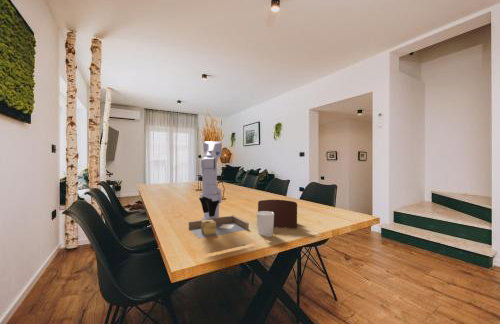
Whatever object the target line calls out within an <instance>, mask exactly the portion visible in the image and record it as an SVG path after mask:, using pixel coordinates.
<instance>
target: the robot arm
mask: <svg viewBox="0 0 500 324" xmlns="http://www.w3.org/2000/svg"><path fill="white" fill-rule="evenodd" d="M222 143H223V142H222V141H221V140H220V141H213V140H212V141H209V140H208V141H206V140H205V141H204V142H203V153H204V156H203V158H201V161H200V167H201V174H202V177H201V178H202V180H201V182H202V184H201V185H202V186H201V187H202V192H201V193H200V194H199V198H198V200H199V202H200V203H201V208H202V212H203V214H204V216H203V217H202V220H205V219H212V218H219V217H220V204H221V203H222V194H223V193H222V190H221V188H219V187H218V186H217V184H218V181H217V180H218V178H217V177H218V176H217V175H218V159H220V158H221V157H222V154H223V153H222V151H223V144H222Z"/></svg>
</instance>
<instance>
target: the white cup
mask: <svg viewBox="0 0 500 324" xmlns="http://www.w3.org/2000/svg"><path fill="white" fill-rule="evenodd" d="M273 226H274V213H273V212H270V211H260V212H258V211H257V212H256V227H257V228H256V229H257V234H258V235H260V236H263V237H264V236H266V237H267V238H272V237H273V236H274V227H273Z"/></svg>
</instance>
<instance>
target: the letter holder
mask: <svg viewBox="0 0 500 324" xmlns="http://www.w3.org/2000/svg"><path fill="white" fill-rule="evenodd" d="M260 211H270V212H273V213H274V226H273V228H281V229H294V230H295V229H298V202H296V201H293V200H285V199H262V200H258V203H257V212H260Z"/></svg>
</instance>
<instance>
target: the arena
mask: <svg viewBox="0 0 500 324" xmlns="http://www.w3.org/2000/svg"><path fill="white" fill-rule="evenodd" d="M205 220H213V221H215V222H216V233H215V234H210V235H204V234H203V233H202V232H201V222H202V221H205ZM205 220H204V219H198V220H192V221H191V220H190V221H188V229H189V230H190V231H191V233H193V234H194V235H195V236H196V237H197V238H198V239H204V238H209V237H211V238H212V237H216V236H220V235H221V236H222V235H227V234H232V233H236V232H243V231H248V230H249V228H250V227H249V222H247V221H245V220H243V219H241V218H240V217H237V216H236V215H227V216H221V217H220V216H219V218H212V219H205Z"/></svg>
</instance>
